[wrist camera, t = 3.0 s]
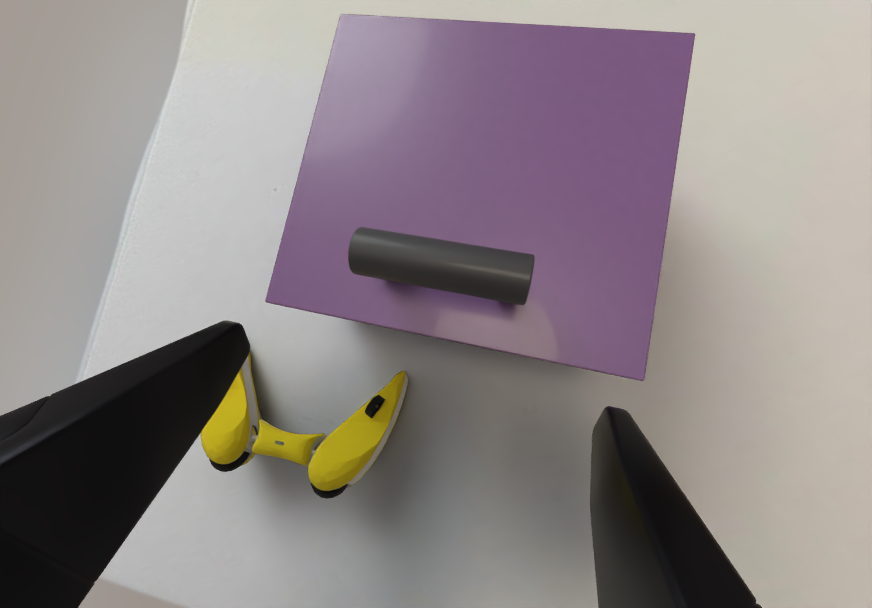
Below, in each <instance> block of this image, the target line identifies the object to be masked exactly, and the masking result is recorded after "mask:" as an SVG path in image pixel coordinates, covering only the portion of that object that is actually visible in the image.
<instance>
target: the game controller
mask: <svg viewBox="0 0 872 608" xmlns="http://www.w3.org/2000/svg"><path fill="white" fill-rule="evenodd" d="M407 385H408V377H407V374H406V372H405V371H401V372H400V373H398V374H397V375H396V376H395V377H394V378H393V379H392V380H391V382H390V383H389V384H388V385H387V386H385V387H384V388H383V389H382V390H381V391H380V392H379V393H377V394H376V395H375V396H374V397H373V398H372V399H370V400H369V401H368V402H367V403H366V404H365V405H363V406H362V407H361V408H360V409H359V410H358V411H356V412H355V413H354V414H353V415H352V416H351V417H349V418H348V419H347V420H346V421H345V422H343V423H342V424H341V425H340V426H339V427H338V428H337V429H335V430H334V431H333V432H332V433H331V434H330V435H329V436H328V437H327V438H326V436H327V435H326V434H324V433H322V434H296V433H290V432H285V431H282V430H280V429H277V428H275V427H273V426H272V425H270V424H268V423H267V422H266V421H264V420H262V418H261V415H260V412H259V409H258V404H257V398H256V393H255V388H254V382H253V377H252V372H251V355H250V352H249V355H248V357H247V359H246V360H245V362H244V364H243V366H242V367H241V369H240V371H239V373H238V374H237V376H236V378H235V380H234V382H233V383H232V385H231V387H230V389H229V390H228V392H227V394H226V396H225V397H224V399H223V401H222V402H221V404H220V406H219V407H218V409H217V410H216V412H215V413H214V414H213V416H212V417H211V419H210V420H209V422H208V423H207V424H206V426H205V427H204V429H203V430H202V431H201V441H202V446H203V449H204V450H205V452H206V454H207V456H208V457H209V460H210V462H211V464H212V466H213V467H214V468H216V469H217V470H219V471H222V472H227V471H232V470H234V469H236V468H238V467H240V466H241V465H244V464H246V463H248V462H249V461H250V460H251V459H252V458H253V457H254V455H255V454H259V455H265V456H273V457H279V458H283V459H287V460H290V461H293V462H295V463H298V464H301V465H304V466H308V475H309V480H310V481H311V486H312V488H313V490H314V492H315V493H316V494H317V495H319V496H320V497H323V498H333V497H335V496H338V495H339V494H341V493H342V492H343V491H344V490H345V489H346V488H348V487H350V486H352V485H354V484H355V483H356V482H357V481H358V480H360V479H361V478H362V477H363V476H364V475H365V474H366V472H367V471H368V470H369V469H370V467H371V466H372V465H373V463H374V462H375V461H376V459H377V457H378V456H379V454H380V452H381V451H382V449H383V448H384V446H385V444H386V442H387V440H388V438H389V436H390V434H391V431H392V429H393V427H394V425H395V423H396V420H397V418H398V415H399V412H400V409H401V406H402V403H403V400H404V397H405V393H406V389H407ZM325 438H326V439H325ZM324 439H325V440H324ZM323 440H324V441H323ZM322 441H323V443H322V444H321V445H320V446H319V447H318V445H319V444H320V443H321V442H322ZM317 447H318V449H317ZM316 449H317V450H316Z"/></svg>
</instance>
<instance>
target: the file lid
mask: <svg viewBox="0 0 872 608" xmlns="http://www.w3.org/2000/svg"><path fill="white" fill-rule="evenodd" d="M694 39H695V34H694V33H679V32H661V31H643V30H625V29H607V28H589V27H571V26H553V25H535V24H517V23H499V22H480V21H462V20H444V19H426V18H408V17H390V16H372V15H354V14H340V18H339V22H338V26H337V30H336V33H335V37H334V41H333V45H332V49H331V52H330V56H329V60H328V64H327V68H326V71H325V75H324V79H323V83H322V87H321V91H320V94H319V98H318V102H317V106H316V110H315V113H314V117H313V121H312V125H311V129H310V133H309V136H308V140H307V144H306V148H305V152H304V155H303V159H302V163H301V167H300V171H299V174H298V178H297V182H296V186H295V190H294V194H293V197H292V201H291V205H290V209H289V213H288V216H287V220H286V224H285V228H284V232H283V236H282V239H281V243H280V247H279V251H278V255H277V258H276V262H275V266H274V270H273V274H272V277H271V281H270V285H269V289H268V293H267V297H266V300H265V302H267V303H271V304H276V305H281V306H285V307H290V308H295V309H300V310H305V311H309V312H314V313H319V314H324V315H328V316H333V317H338V318H343V319H348V320H352V321H357V322H362V323H367V324H371V325H376V326H381V327H386V328H391V329H395V330H400V331H405V332H410V333H414V334H419V335H424V336H429V337H434V338H438V339H443V340H448V341H453V342H457V343H462V344H467V345H472V346H477V347H481V348H486V349H491V350H496V351H500V352H505V353H510V354H515V355H520V356H524V357H529V358H534V359H539V360H543V361H548V362H553V363H558V364H563V365H567V366H572V367H577V368H582V369H586V370H591V371H596V372H601V373H606V374H610V375H615V376H620V377H625V378H629V379H634V380H640V381H644V378H645V371H646V364H647V358H648V351H649V344H650V337H651V331H652V324H653V317H654V310H655V303H656V297H657V290H658V283H659V276H660V269H661V263H662V256H663V249H664V242H665V235H666V229H667V222H668V215H669V208H670V202H671V195H672V188H673V181H674V174H675V168H676V161H677V154H678V147H679V140H680V134H681V127H682V120H683V113H684V107H685V100H686V93H687V86H688V79H689V73H690V66H691V59H692V52H693V45H694Z"/></svg>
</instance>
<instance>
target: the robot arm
mask: <svg viewBox="0 0 872 608" xmlns="http://www.w3.org/2000/svg"><path fill="white" fill-rule="evenodd" d="M249 352H250V343H249V341H248V338H247V336H246V333H245V331H244V328H243V326H242V325H241V324H240V323H236V322H232V321H222V322H219V323H217V324H215V325H212V326H210V327H208V328H205V329H203V330H201V331H198V332H196V333H194V334H191V335H189V336H187V337H184V338H182V339H180V340H177V341H175V342H173V343H170V344H168V345H166V346H163V347H161V348H159V349H156V350H154V351H152V352H149V353H147V354H145V355H142V356H140V357H138V358H135V359H133V360H131V361H128V362H126V363H124V364H121V365H119V366H117V367H114V368H112V369H110V370H107V371H105V372H103V373H100V374H98V375H96V376H93V377H91V378H89V379H86V380H84V381H82V382H79V383H77V384H75V385H72V386H70V387H68V388H66V389H63V390H61V391H58V392H56V393H54V394H52V395H51V396H47V397H44V398H42V399H40V400H37V401H35V402H33V403H30V404H28V405H26V406H23V407H21V408H18V409H16V410H14V411H11V412H9V413H6V414H4V415H1V416H0V608H78V606H79V605H80V604H81V602H82V601H83V599H84V598H85V596H86V595H87V594H88V592H89V591H90V589H91V588H92V587H93V585H94V582H95V581H96V580H97V579H98V578H99V576H100V575H101V573H102V572H103V571H104V569H105V568H106V566H107V565H108V563H109V562H110V561H111V559H112V558H113V556H114V555H115V554H116V552H117V551H118V549H119V548H120V546H121V545H122V544H123V542H124V541H125V539H126V538H127V537H128V535H129V534H130V532H131V531H132V529H133V528H134V527H135V525H136V524H137V522H138V521H139V519H140V518H141V517H142V515H143V514H144V512H145V511H146V510H147V508H148V507H149V505H150V504H151V502H152V501H153V500H154V498H155V497H156V495H157V494H158V493H159V491H160V490H161V488H162V487H163V485H164V484H165V483H166V481H167V480H168V478H169V477H170V475H171V474H172V473H173V471H174V470H175V468H176V467H177V466H178V464H179V463H180V461H181V460H182V458H183V457H184V456H185V454H186V453H187V451H188V450H189V449H190V447H191V446H192V444H193V443H194V441H195V440H196V439H197V437H198V436H199V434H200V433H201V431H202V430H203V429H204V427H205V426H206V424H207V423H208V422H209V420H210V419H211V417H212V416H213V414H214V413H215V412H216V410H217V409H218V407H219V406H220V404H221V402H222V401H223V399H224V397H225V396H226V394H227V392H228V390H229V389H230V387H231V385H232V383H233V382H234V380H235V378H236V376H237V374H238V373H239V371H240V369H241V367H242V366H243V364H244V362H245V360H246V359H247V357H248V355H249ZM590 511H591V525H592V536H593V548H594V560H595V571H596V583H597V595H598V606H599V608H762V607H761V606H760V605H759V604H756V599H755V597H754V596H753V594H752V593H751V591H750V590H749V588H748V587H747V585H746V584H745V582H744V581H743V579H742V578H741V576H740V575H739V574H738V572H737V571H736V569H735V568H734V566H733V565H732V563H731V562H730V560H729V559H728V557H727V556H726V555H725V553H724V552H723V550H722V549H721V547H720V546H719V544H718V543H717V541H716V540H715V538H714V537H713V535H712V534H711V533H710V531H709V530H708V528H707V527H706V525H705V524H704V522H703V521H702V519H701V518H700V516H699V515H698V514H697V512H696V511H695V509H694V508H693V506H692V505H691V503H690V502H689V500H688V499H687V497H686V496H685V494H684V493H683V492H682V490H681V489H680V487H679V486H678V484H677V483H676V481H675V480H674V478H673V477H672V475H671V474H670V473H669V471H668V470H667V468H666V467H665V465H664V464H663V462H662V461H661V459H660V458H659V456H658V455H657V453H656V452H655V451H654V449H653V448H652V446H651V445H650V443H649V442H648V440H647V439H646V437H645V436H644V434H643V433H642V431H641V430H640V429H639V427H638V426H637V424H636V423H635V421H634V420H633V418H632V417H631V415H630V414H629V413H628V412H627V411H626V410H624V409H620V408H615V407H611V406H607V407H605V408H604V410H603V412H602V413H601V415H600V417H599V419H598V421H597V423H596V424H595V426H594V429H593V433H592V454H591V486H590Z"/></svg>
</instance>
